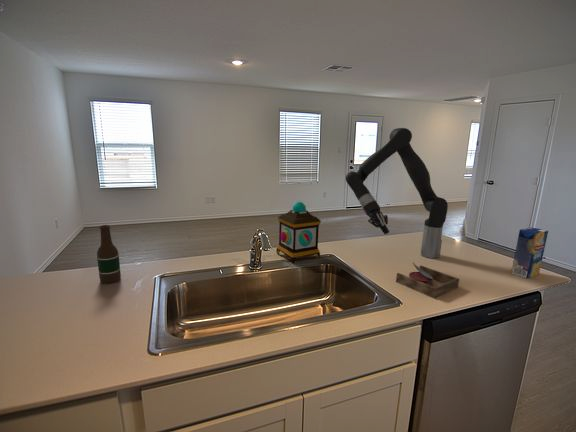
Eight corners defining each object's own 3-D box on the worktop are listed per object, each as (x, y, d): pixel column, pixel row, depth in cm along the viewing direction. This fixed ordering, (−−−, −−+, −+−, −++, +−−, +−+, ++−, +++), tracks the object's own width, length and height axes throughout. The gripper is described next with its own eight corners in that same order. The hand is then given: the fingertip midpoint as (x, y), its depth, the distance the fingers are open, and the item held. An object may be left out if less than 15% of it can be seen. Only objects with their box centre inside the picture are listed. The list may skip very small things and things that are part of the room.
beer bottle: (125, 278, 131) (120, 224, 125) (109, 285, 123) (103, 229, 118) (111, 275, 133) (105, 222, 128) (95, 282, 126) (88, 226, 121)
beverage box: (538, 274, 146) (548, 230, 141) (527, 278, 141) (536, 233, 136) (522, 269, 152) (531, 227, 147) (511, 273, 147) (519, 229, 142)
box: (395, 281, 134) (396, 273, 133) (420, 273, 144) (421, 265, 143) (434, 298, 119) (435, 289, 119) (457, 287, 130) (459, 278, 129)
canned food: (412, 286, 140) (418, 266, 142) (434, 292, 132) (439, 270, 134) (401, 281, 133) (407, 259, 135) (423, 287, 125) (429, 264, 127)
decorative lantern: (303, 248, 176) (305, 197, 170) (323, 259, 160) (326, 203, 153) (272, 253, 166) (273, 199, 160) (291, 265, 150) (293, 206, 143)
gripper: (364, 201, 147) (383, 231, 140) (382, 199, 154) (400, 227, 147) (355, 210, 153) (373, 239, 145) (373, 207, 160) (390, 235, 153)
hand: (387, 233), depth 146 cm, fingers closed
